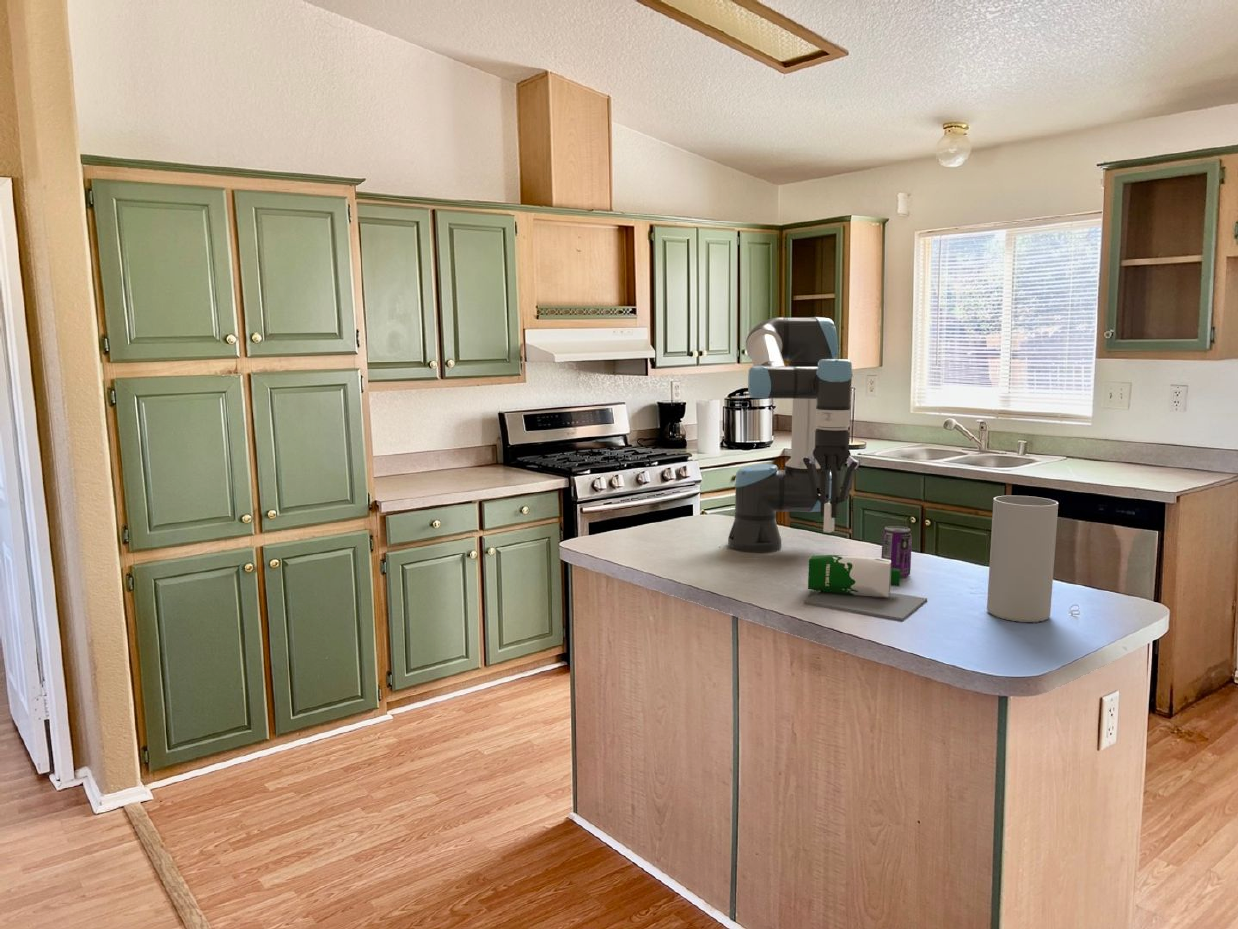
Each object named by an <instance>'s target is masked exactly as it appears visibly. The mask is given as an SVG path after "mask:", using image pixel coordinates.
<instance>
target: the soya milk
mask: <svg viewBox="0 0 1238 929" xmlns="http://www.w3.org/2000/svg"><path fill="white" fill-rule="evenodd" d="M807 574H808V575H807V576H808V580H807V590H809V591H810V590H812V591H817V592H820V591H821V592H827V593H834V594H845V595H857V596H873V597H889V596H890V592H891V587H900V584H901V578H900V569H894V568H892V569H891V560H888V559H882V558H880V557H868V556H855V555H842V554H823V555H821V554H820V555H812V556H811V557H809V558H808V573H807Z"/></svg>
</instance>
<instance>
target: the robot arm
mask: <svg viewBox="0 0 1238 929" xmlns="http://www.w3.org/2000/svg"><path fill="white" fill-rule="evenodd" d="M745 349H746V353H747V356H748V357H749V358H750V359H751V360H752V361H751V362H752V366H751V367H749V369H748V374H747V375H748V378H747V385H748V386H747V389H748V390H747V391H748V392H747V393H748V396H749V397H750V398H753V399H761V400H768V399H771V400H772V399H773V400H774V399H775V400H777V399H779V400H781V399H785V400H786V399H787V400H788V399H792V414H791V416H792V418H791V443H790V444H791V445H790V447H791V448H790V458H789V459H788V460H787V461H786V462H785V464H784V469H779V468H778V466H777V465H776V464H767V463H764V464H754V465H748V466H743V467H742V468H740V469H738V470H737V471H736V474H735V482H734V483H735V484H734V487H735V493H734V494H735V497H734V499H735V500H734V520H733V523H732V525H731V529H730V530H729V535H728V538H727V546H728V548H731V549H733V550H736V551H740V552H749V553H771V552H776V551H779V550H780V548H782V537H781V534H780V530H779V528H778V523H777V512H807V513H813V512H815V513H816V512H820V513H819V514H820V517H823V528H822V529H823V533H832V532H834V531H835V519H836V518H838V517H839V515H840V514H839V512H840V510H839V509H840V504H841V503H844V502H846V501H848V499H849V495H850V491H851V489H852V485H853V481H854V478H855V475H856V474H855V473H856V471H857V469H858V468H859V467H860V465H861V461H860V460H858V459H857V460H856V459H855V458H854V457H853V456H851V451H850V447H849V446H850V432H851V431H850V430H849V429H848V428H849V427H850V425H851V402H852V400H851V399H852V380H853V379H852V378H853V377H854V376H853V369H852V367H853V366H852V365H853V363H852V361H851V360H850V359H842V358H839V359H838V356H839V355H838V354H839V352H838V351H839V344H838V335H837V329H836V324H835V323H834V320H832V319H831V318H828V317H820V316H811V317H803V316H802V317H800V316H799V317H795V316H794V317H782V316H781V317H778V316H777V317H772V318H770V319H766V320H763V321H762V322H760V323H759V324H757V325H756V326H754V328H752V329H751V330H750V332H749V333H748V334H747V337H746V341H745ZM784 361H787V362H788V364H787V365H788V366H786V365H785V362H784ZM846 463H847V464H846ZM845 464H846V466H847V469H846V472H845V474H844V478H843V481H842V482H843V483H842V486H841V480H842V479H841V478H842V476H841V475H842V471H843V468H844V466H845Z"/></svg>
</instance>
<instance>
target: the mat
mask: <svg viewBox="0 0 1238 929" xmlns="http://www.w3.org/2000/svg"><path fill="white" fill-rule="evenodd" d="M926 602H928V598H926V597H922V596H921V597H920V596H917V595H916V596H915V595H910V594H902V593H896V592H891V591H890V596H889V597H873V596H857V595H845V594H834V593H827V592H821V591H818V592H817V593H815V594H814V595H812V596H811V597H809V598H807V599H805V600H804V602H803V603H804V604H806V605H811V606H815V607H822V608H827V609H834V610H838V611H844V612H850V613H855V614H860V615H861V614H862V615H865V616H866V615H867V616H872V617H878V618H882V619H889V620H892V621H893V620H895V621H900V622H904V620H906V619H907V618H908V617H910V616H911V615H912V614H913V613H914V612H916V611H917V610H918V609H919V608H920V607H922V605H924V604H925V603H926Z"/></svg>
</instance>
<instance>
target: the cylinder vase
mask: <svg viewBox="0 0 1238 929" xmlns="http://www.w3.org/2000/svg"><path fill="white" fill-rule="evenodd" d="M1058 510H1059V502H1058V501H1057V500H1054V499H1051V498H1046V497H1045V498H1044V497H1038V496H1029V495H1001V496H1000V495H999V496H998V495H997V496H995V497H993V505H992V519H991V533H990V534H991V536H990V537H991V538H990V551H989V553H990V554H989V567H988V586H987V600H986V609H987V612H988V613H990V614H991V615H993V616H994V617H995V618H998V619H1002V620H1005V619H1006V620H1007V621H1010V620H1011V621H1010V622H1015V621H1018V623H1026V622H1033V623H1040V622H1039V621H1042V622H1045V621H1046V619H1047V620H1048V619H1049V618H1050V616H1051V612H1052V611H1051V609H1052V595H1053V581H1054V567H1055V556H1056V555H1055V554H1056V553H1055V552H1056V542H1057V527H1058V526H1057V524H1058V513H1059V511H1058ZM1044 620H1045V621H1044Z"/></svg>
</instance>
